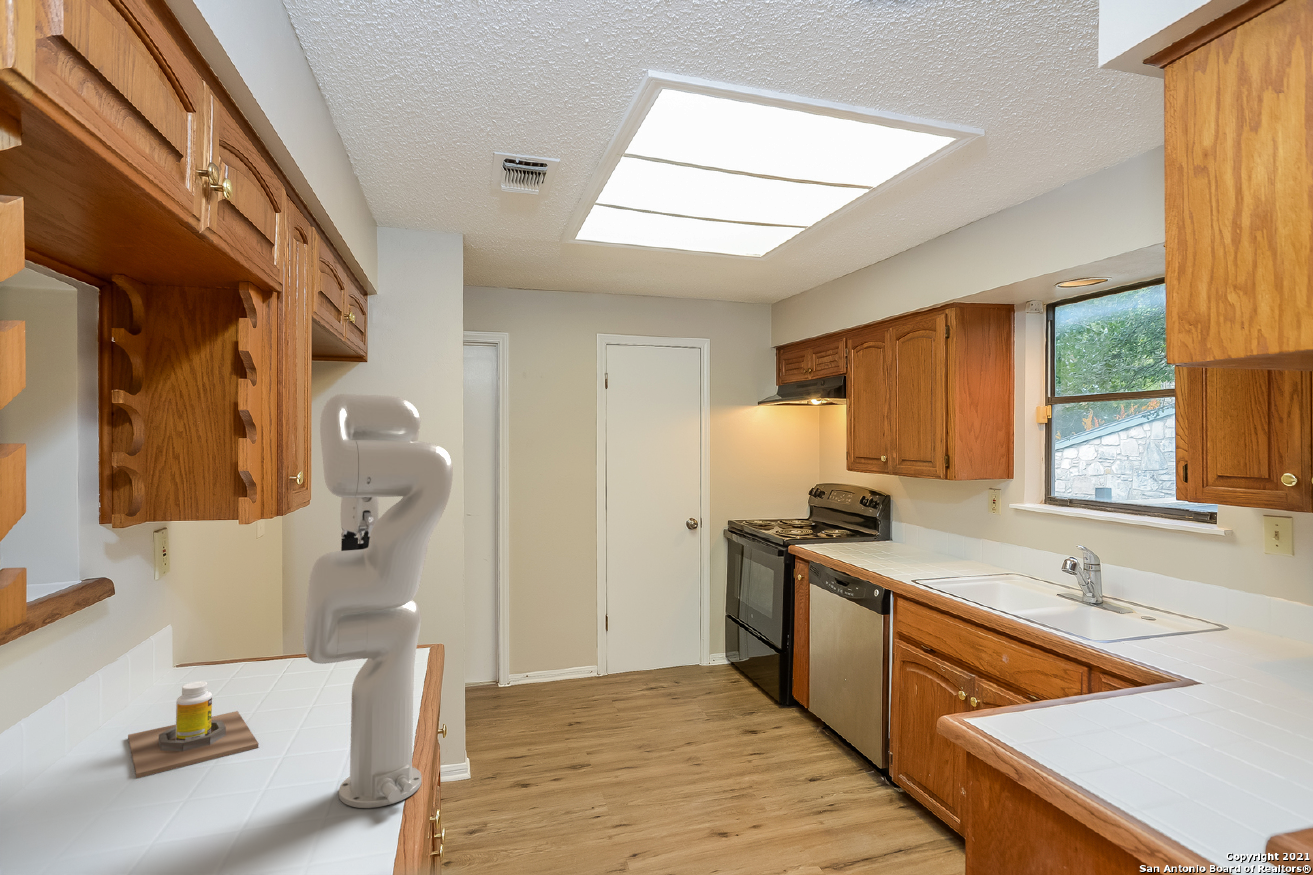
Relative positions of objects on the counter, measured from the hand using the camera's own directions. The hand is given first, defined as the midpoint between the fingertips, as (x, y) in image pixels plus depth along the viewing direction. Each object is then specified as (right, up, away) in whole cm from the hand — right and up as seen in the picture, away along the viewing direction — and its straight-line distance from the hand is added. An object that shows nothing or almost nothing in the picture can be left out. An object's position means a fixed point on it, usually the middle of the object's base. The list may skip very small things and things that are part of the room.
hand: (357, 559), depth 136 cm
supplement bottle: (-26, -32, -11) cm, 43 cm away
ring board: (-26, -33, -10) cm, 43 cm away
